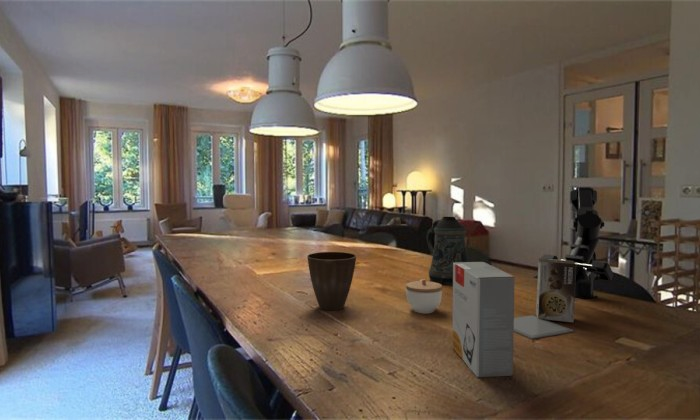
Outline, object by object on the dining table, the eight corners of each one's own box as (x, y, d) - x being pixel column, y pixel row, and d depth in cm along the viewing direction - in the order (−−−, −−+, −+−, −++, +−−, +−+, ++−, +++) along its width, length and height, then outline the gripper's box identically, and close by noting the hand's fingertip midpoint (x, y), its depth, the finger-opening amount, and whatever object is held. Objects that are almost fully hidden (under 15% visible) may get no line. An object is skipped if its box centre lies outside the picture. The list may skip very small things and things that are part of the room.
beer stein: (465, 287, 158) (466, 219, 157) (415, 282, 168) (415, 217, 167) (476, 279, 173) (477, 216, 171) (429, 274, 182) (429, 215, 181)
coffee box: (570, 317, 122) (573, 260, 122) (573, 323, 116) (577, 263, 116) (535, 313, 125) (538, 257, 125) (537, 318, 119) (540, 260, 119)
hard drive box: (451, 348, 99) (451, 261, 98) (483, 347, 100) (484, 261, 99) (476, 378, 84) (477, 276, 83) (514, 376, 84) (516, 275, 83)
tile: (531, 316, 123) (531, 314, 123) (574, 331, 110) (574, 330, 110) (492, 322, 118) (492, 320, 118) (531, 339, 105) (531, 337, 105)
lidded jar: (419, 303, 137) (420, 274, 137) (449, 310, 129) (449, 279, 129) (398, 310, 130) (398, 279, 129) (428, 318, 122) (428, 285, 121)
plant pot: (363, 303, 137) (363, 253, 136) (343, 316, 124) (343, 260, 123) (322, 298, 143) (322, 250, 142) (298, 310, 130) (297, 257, 129)
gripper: (625, 269, 126) (608, 314, 119) (561, 261, 140) (543, 300, 134) (615, 244, 120) (595, 290, 114) (549, 238, 135) (529, 278, 129)
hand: (564, 290), depth 123 cm, fingers closed
